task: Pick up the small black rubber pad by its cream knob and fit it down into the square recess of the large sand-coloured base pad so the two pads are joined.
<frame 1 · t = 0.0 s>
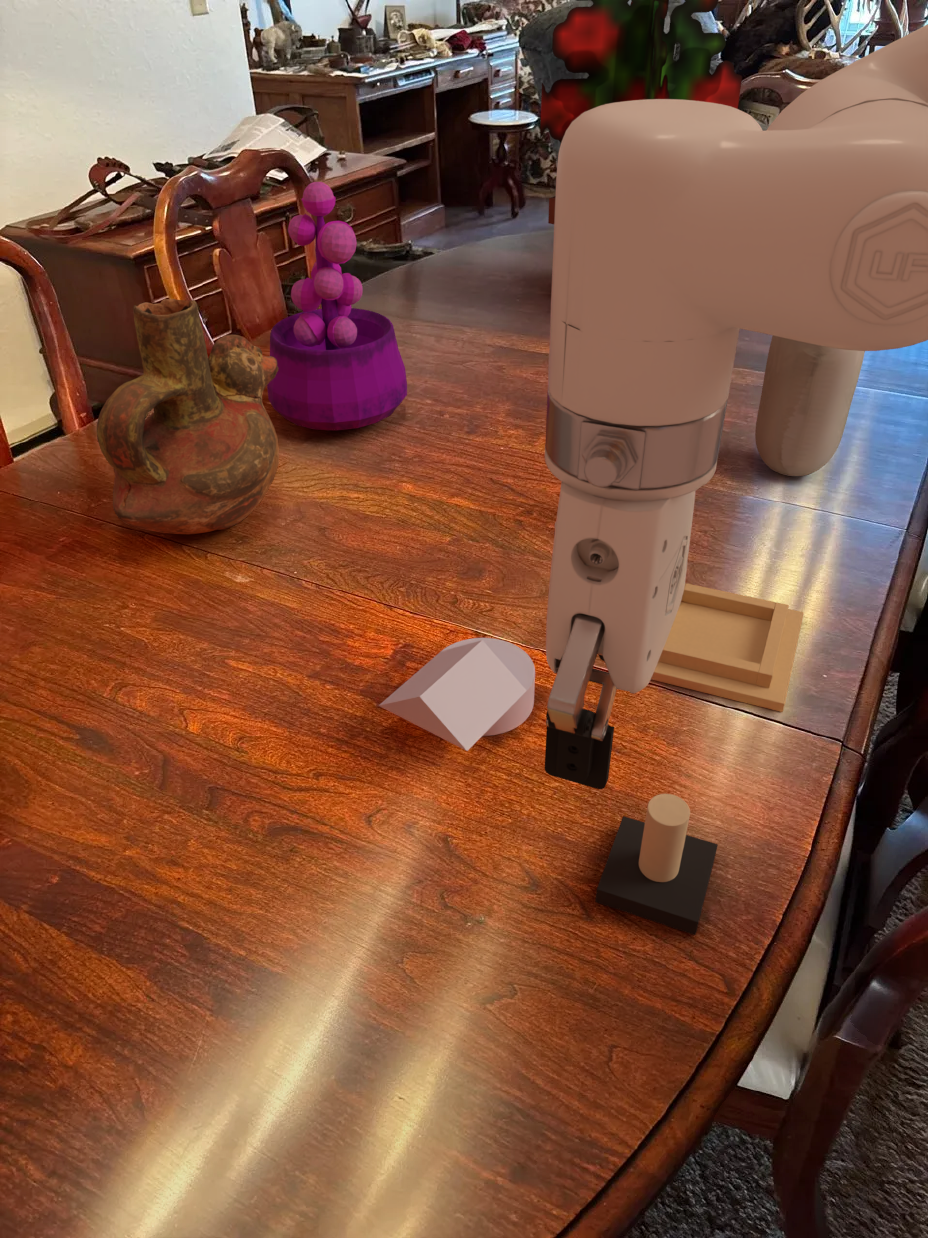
hand: (602, 716, 50), 20 cm above the table, tool pointing down, fingers open, 9 cm apart
ceramic vessel: (217, 515, 107), on the table
base pad: (715, 645, 86), on the table
potted plant: (622, 303, 162), on the table
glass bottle: (789, 469, 114), on the table
wedge on round base: (469, 714, 80), on the table
fossil: (603, 521, 105), on the table
decorative plant: (341, 418, 127), on the table
black pad: (656, 879, 66), on the table
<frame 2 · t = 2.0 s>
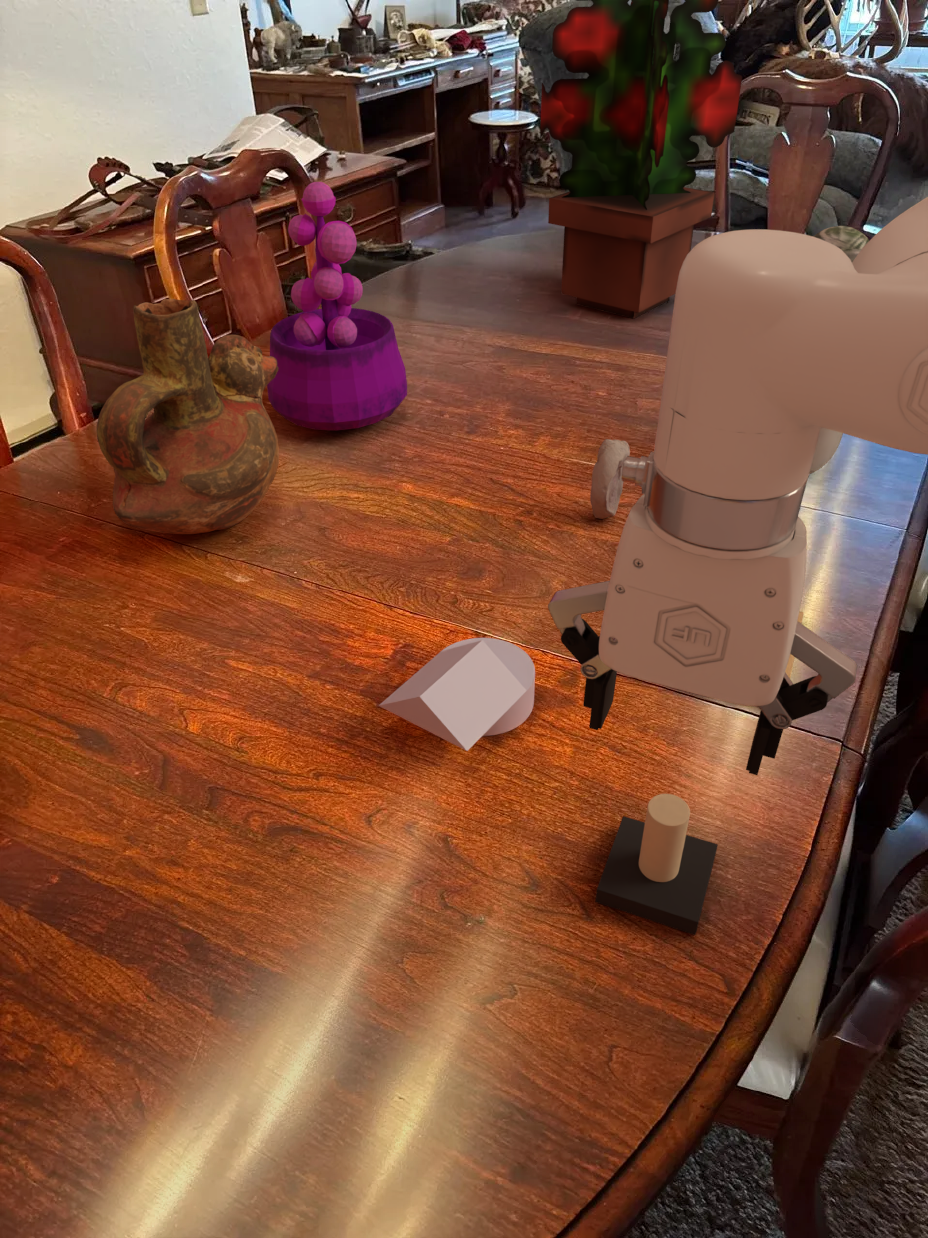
hand: (676, 736, 57), 14 cm above the table, tool pointing down, fingers open, 9 cm apart
nothing on the table moved.
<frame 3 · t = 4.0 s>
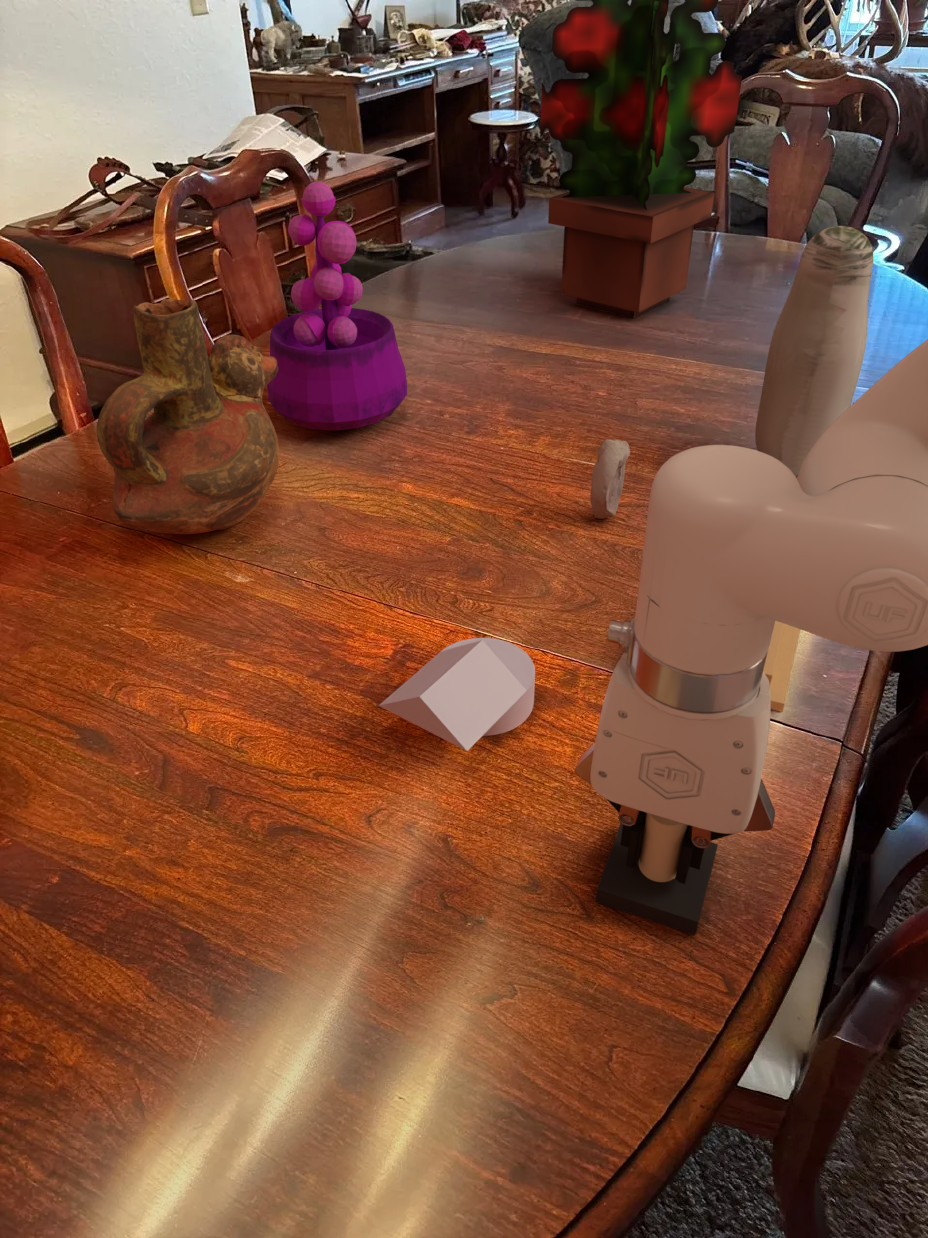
hand: (660, 858, 64), 2 cm above the table, tool pointing down, fingers closed on black pad, 2 cm apart
black pad: (656, 879, 66), on the table, touching gripper
everything else where it was.
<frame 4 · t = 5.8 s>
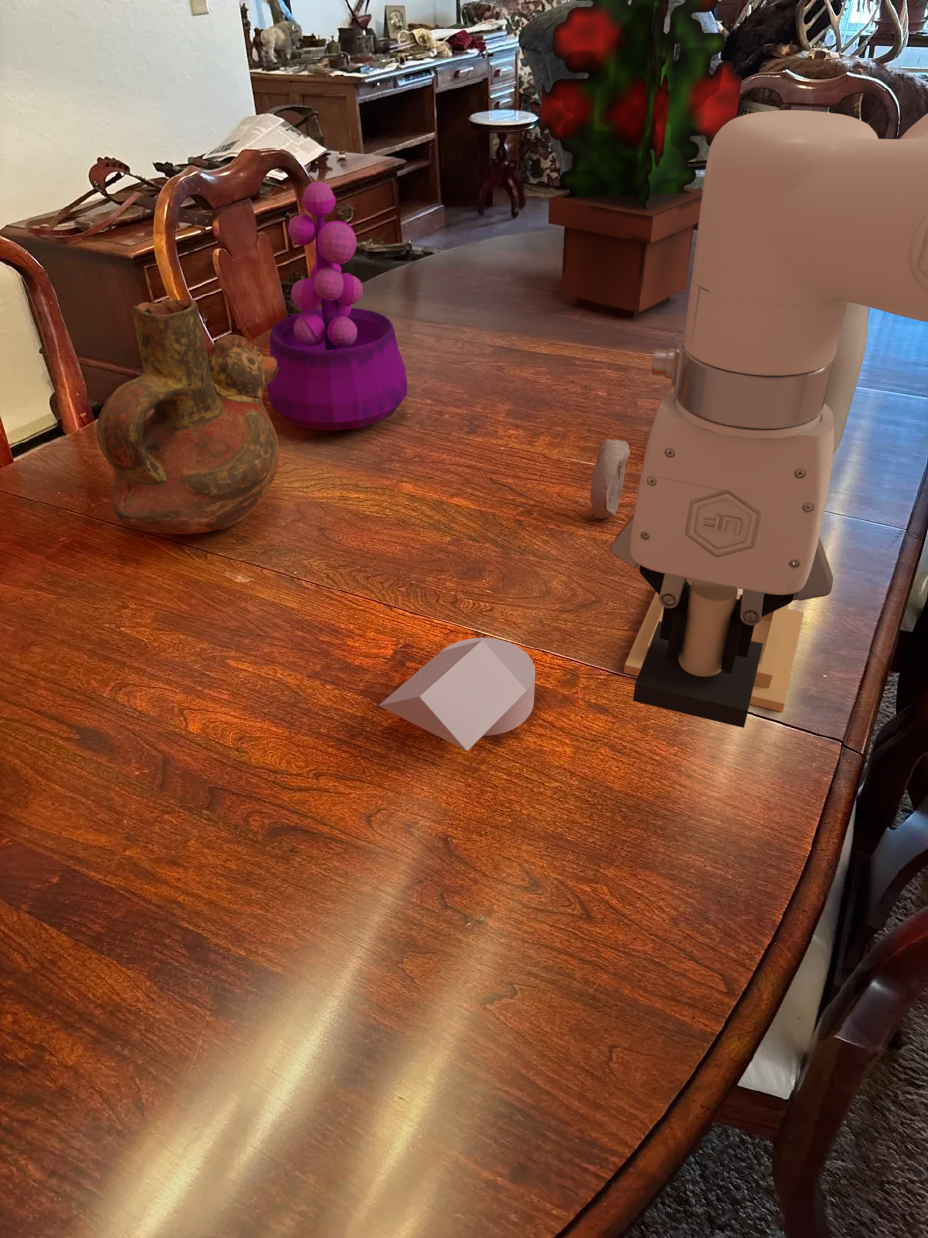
hand: (702, 651, 59), 17 cm above the table, tool pointing down, fingers closed on black pad, 2 cm apart
black pad: (697, 680, 61), point 15 cm above the table, touching gripper
everything else where it was.
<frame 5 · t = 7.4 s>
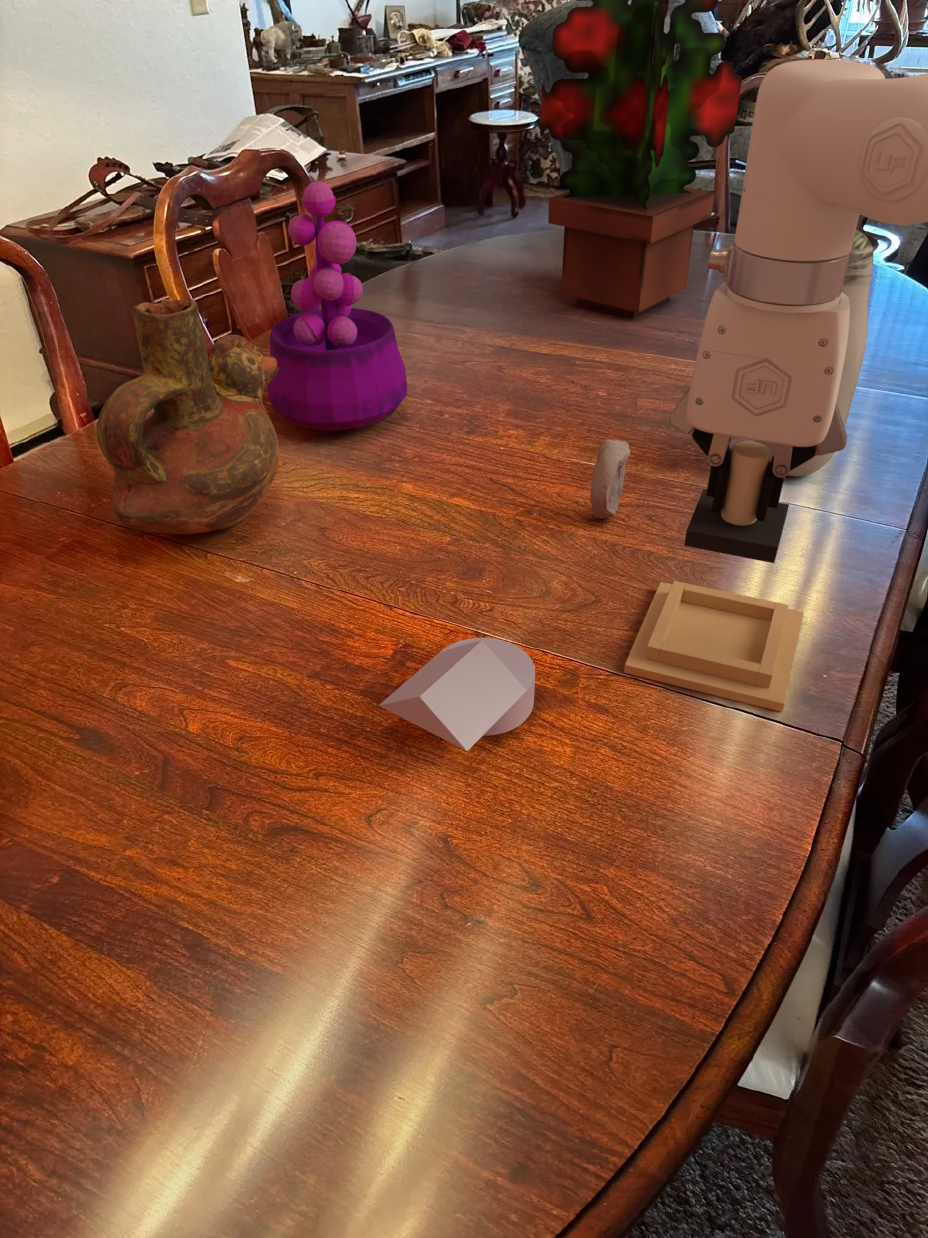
hand: (740, 506, 74), 17 cm above the table, tool pointing down, fingers closed on black pad, 2 cm apart
black pad: (735, 532, 75), point 15 cm above the table, touching gripper
everything else where it was.
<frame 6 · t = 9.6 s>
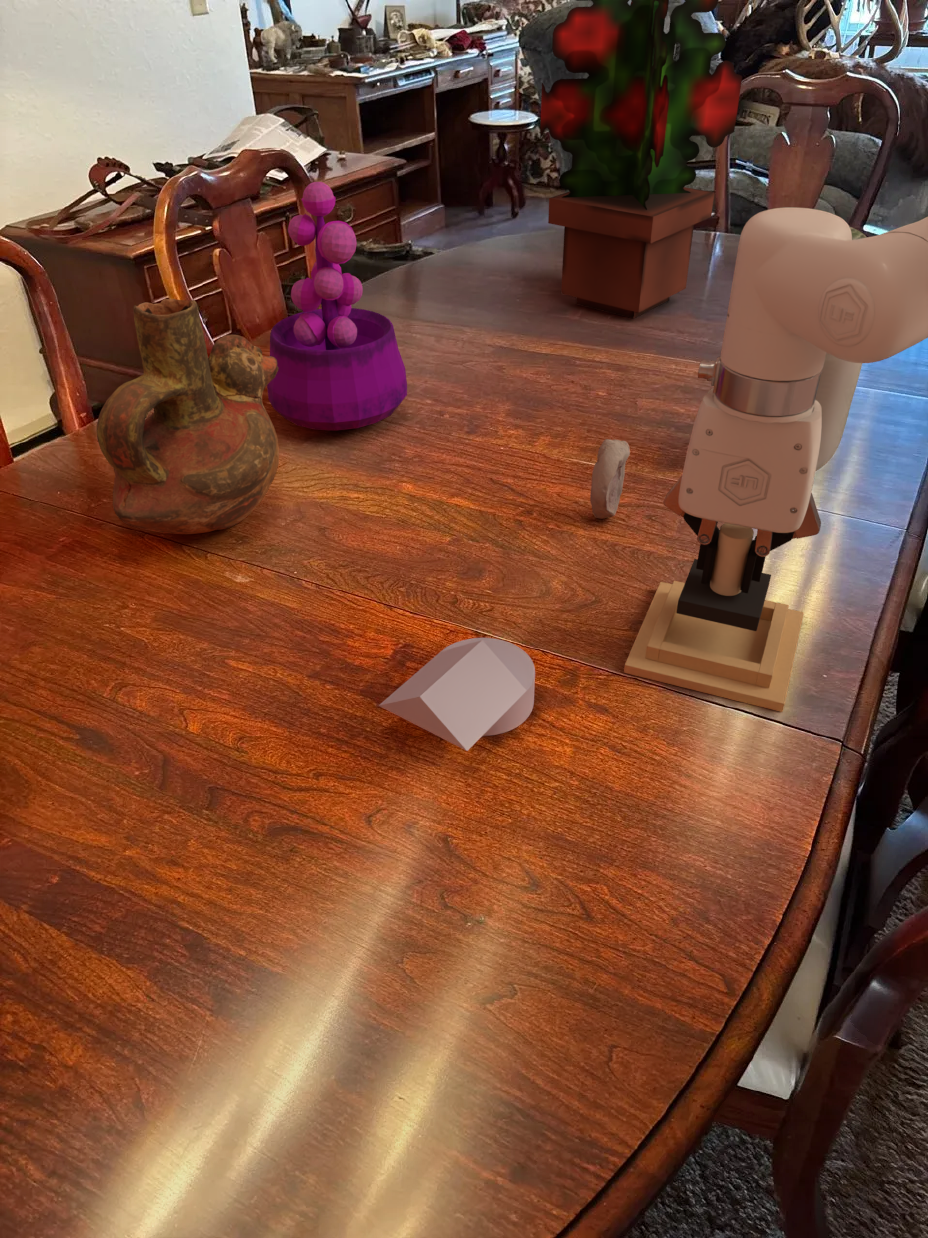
hand: (727, 578, 82), 8 cm above the table, tool pointing down, fingers closed on black pad, 2 cm apart
black pad: (722, 600, 83), point 5 cm above the table, touching gripper
everything else where it was.
when the fingers open (3 cm above the table, at t = 10.9 s): black pad stays where it is, resting on base pad.
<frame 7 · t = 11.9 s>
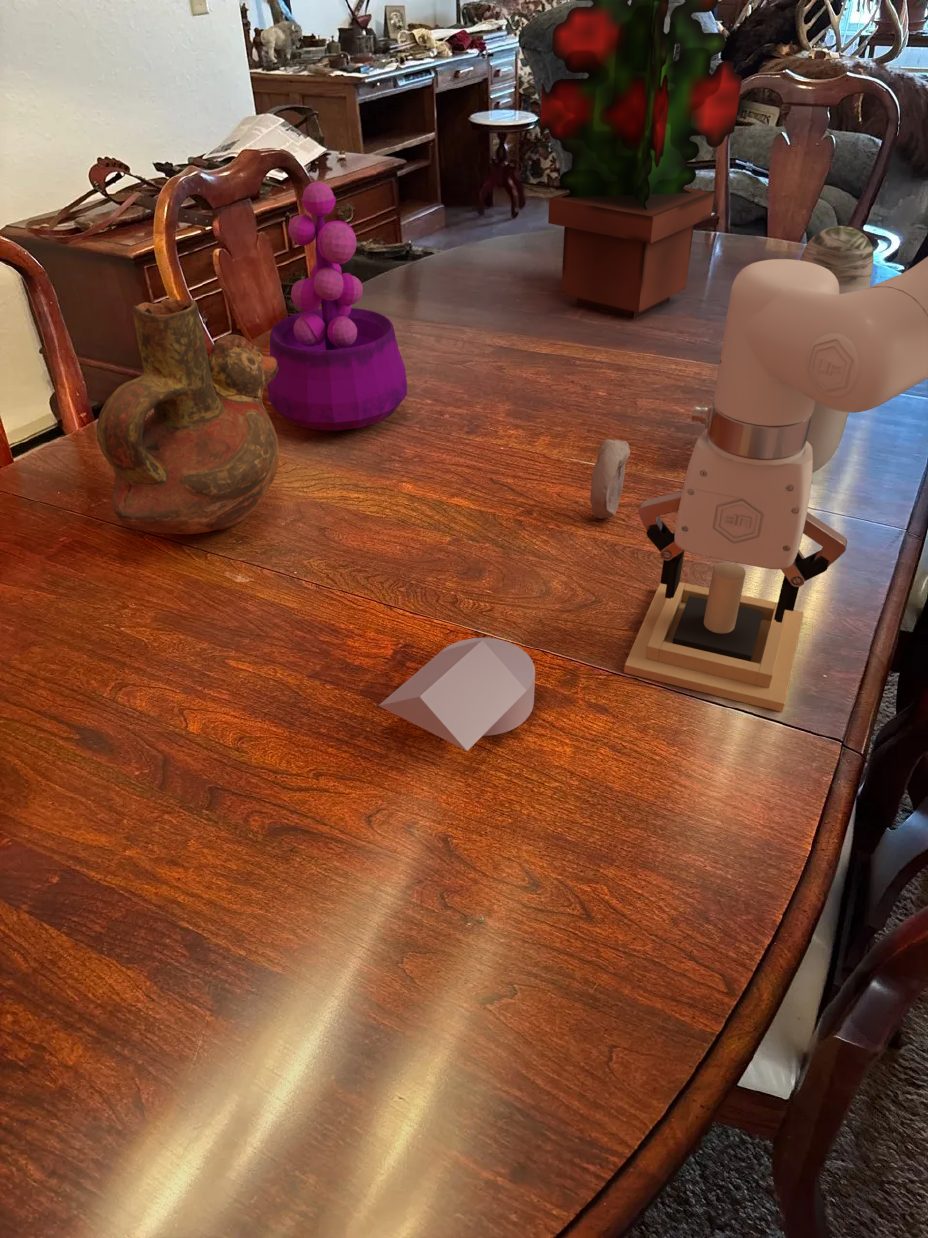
hand: (725, 601, 83), 5 cm above the table, tool pointing down, fingers open, 9 cm apart
black pad: (716, 637, 86), point 1 cm above the table, touching base pad
everything else where it was.
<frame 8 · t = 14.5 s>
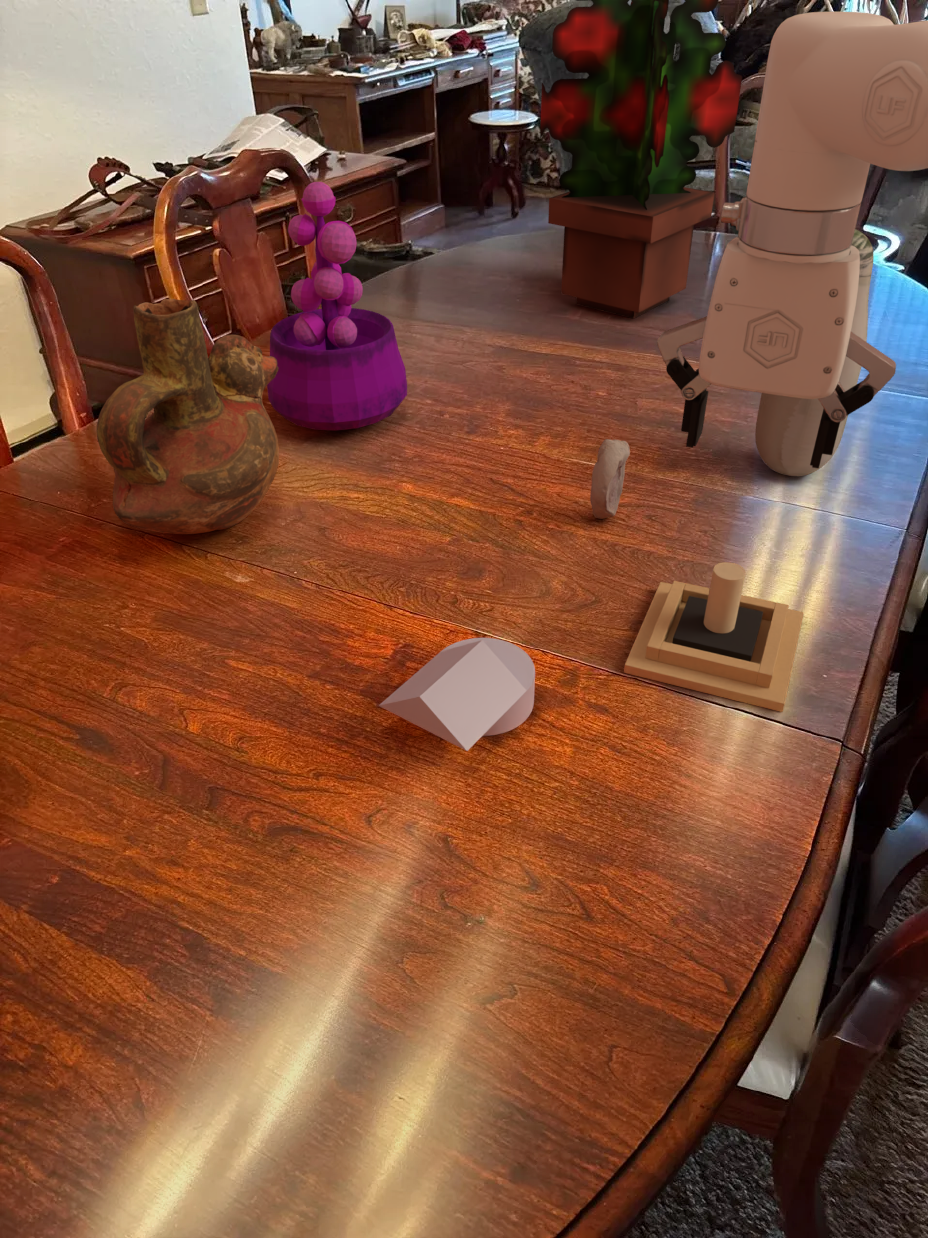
hand: (753, 450, 74), 20 cm above the table, tool pointing down, fingers open, 9 cm apart
nothing on the table moved.
at the end: black pad 0.1 cm off-centre on the base pad, point 1.0 cm above the base pad's base; black pad tilted 0°; the gripper is holding nothing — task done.
